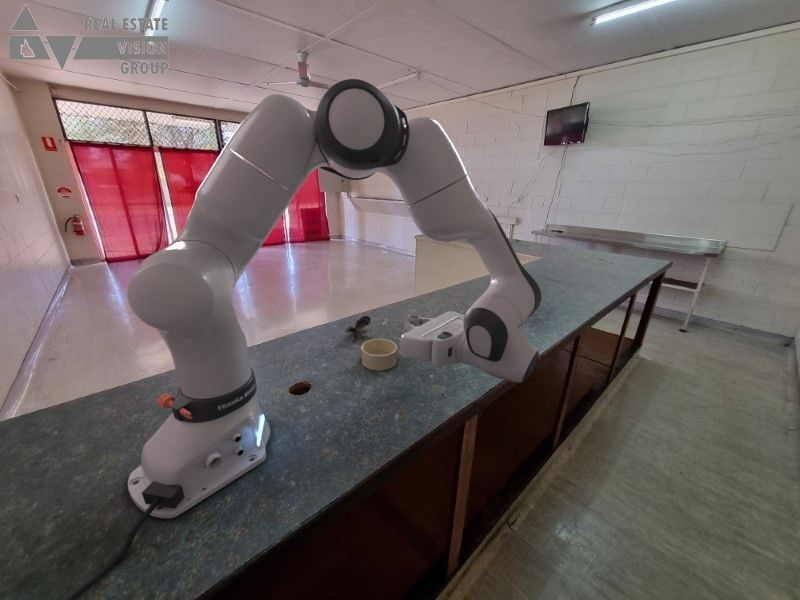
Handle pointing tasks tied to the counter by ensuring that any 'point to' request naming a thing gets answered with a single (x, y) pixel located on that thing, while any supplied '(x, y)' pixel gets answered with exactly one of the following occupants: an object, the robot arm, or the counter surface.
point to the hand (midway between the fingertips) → (411, 322)
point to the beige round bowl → (379, 354)
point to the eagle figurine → (359, 327)
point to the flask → (412, 318)
